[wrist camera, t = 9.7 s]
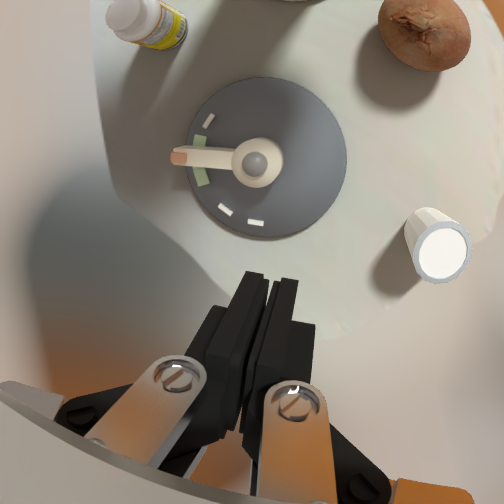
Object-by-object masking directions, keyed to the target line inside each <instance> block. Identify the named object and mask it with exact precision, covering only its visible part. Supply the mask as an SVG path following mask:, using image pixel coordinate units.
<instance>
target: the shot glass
mask: <svg viewBox="0 0 504 504" xmlns="http://www.w3.org/2000/svg"><path fill="white" fill-rule="evenodd" d="M404 237H405V240H406V243H407V245H408V248H409V251H410V254H411V257H412V261H413V263H414V266H415V269H416V272H417V273H418V274H419V275H420V276H421V277H422V278H423V279H424V280H425V281H428V282H431V283H434V284H440V283H447V282H449V281H451V280H453V279H455V278H457V277H458V276H459V275H460V274H461V273H462V272H463V271H464V270H465V269H466V267H467V265H468V262H469V261H470V259H471V253H472V242H471V238H470V235H469V233H468V232H467V231H466V230H465V228H464V227H463V226H462V225H461V224H459V223H457V222H456V221H454V220H453V219H451V218H449V217H448V216H446V215H444V214H443V213H441V212H439V211H438V210H435V209H433V208H430V207H429V208H420V209H418V210H416V211H414V212H413V213H412V214H411V215H410V216H409V217H408V219H407V221H406V224H405V226H404Z"/></svg>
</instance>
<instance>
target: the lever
mask: <svg viewBox="0 0 504 504" xmlns="http://www.w3.org/2000/svg"><path fill="white" fill-rule="evenodd" d="M170 162H173V165H181V166H194V167H206V168H217V169H228V170H233V173H234V175H235V176H236V178H237V179H238V180H239V181H240V182H241V183H243V184H244V185H246V186H249V187H253V188H260V187H264V186H267V185H269V184H270V183H272V182H273V181H274V180H275V178H276V177H277V176H278V175H279V173H280V172H281V170H282V168H283V166H284V153H283V151H282V149H281V147H280V146H279V145H278V144H277V143H276V142H275V141H273V140H272V139H269V138H265V137H258V138H254V139H251V140H248V141H245V142H243V143H242V144H240V145H239V146H238V147H237V148H236V149H233V148H221V147H206V146H190V145H184V146H180V147H176V148H173V152H171V160H170Z"/></svg>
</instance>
